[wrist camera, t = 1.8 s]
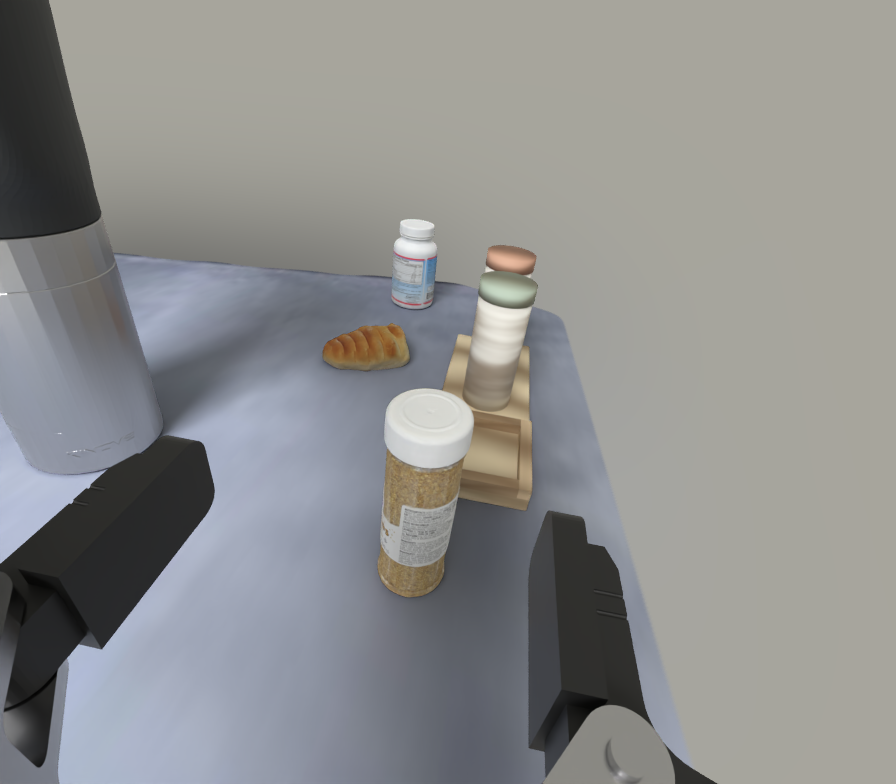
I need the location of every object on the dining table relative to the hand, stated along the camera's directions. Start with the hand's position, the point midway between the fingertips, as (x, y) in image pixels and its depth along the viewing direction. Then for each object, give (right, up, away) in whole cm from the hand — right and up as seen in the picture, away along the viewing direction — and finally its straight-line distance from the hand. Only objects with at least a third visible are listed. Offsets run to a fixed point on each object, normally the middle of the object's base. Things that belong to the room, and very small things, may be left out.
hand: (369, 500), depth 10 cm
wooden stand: (+5, +1, +36) cm, 37 cm away
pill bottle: (-4, +16, +56) cm, 58 cm away
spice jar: (-1, -10, +20) cm, 22 cm away
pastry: (-7, +6, +42) cm, 43 cm away
